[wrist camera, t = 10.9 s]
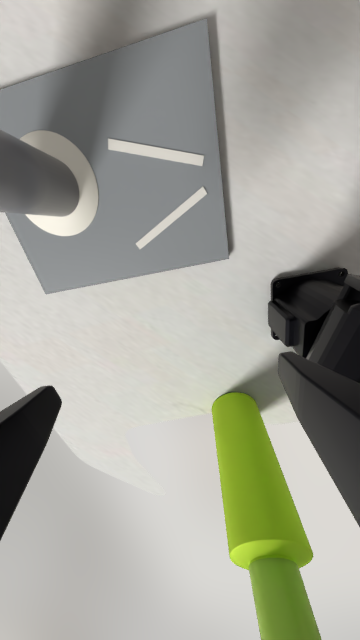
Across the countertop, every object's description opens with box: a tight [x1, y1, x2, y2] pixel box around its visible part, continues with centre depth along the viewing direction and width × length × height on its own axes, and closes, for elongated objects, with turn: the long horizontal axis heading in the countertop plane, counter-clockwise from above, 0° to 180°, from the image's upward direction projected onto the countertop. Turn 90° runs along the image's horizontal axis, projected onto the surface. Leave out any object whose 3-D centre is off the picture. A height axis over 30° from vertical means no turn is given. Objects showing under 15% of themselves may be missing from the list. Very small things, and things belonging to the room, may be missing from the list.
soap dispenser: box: [212, 392, 321, 640], centre depth 17 cm, size 6×7×20 cm
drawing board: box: [0, 18, 229, 294], centre depth 16 cm, size 18×14×1 cm
